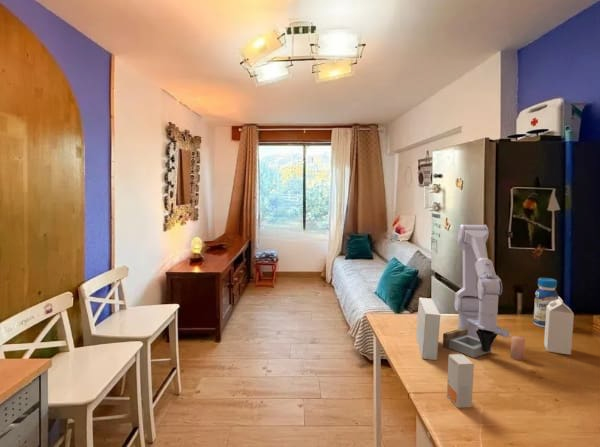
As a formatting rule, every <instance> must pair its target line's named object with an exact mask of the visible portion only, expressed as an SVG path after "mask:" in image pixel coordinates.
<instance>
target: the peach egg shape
mask: <svg viewBox="0 0 600 447" xmlns="http://www.w3.org/2000/svg"><path fill="white" fill-rule="evenodd" d="M525 343H526V339H525V338H524V337H522V336H519V335H512V336H511V342H510V354H509V356H510V358H511V359H513V360H514V361H515V360H516V361H524V360H525V346H526V344H525Z"/></svg>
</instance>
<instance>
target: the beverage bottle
mask: <svg viewBox="0 0 600 447" xmlns="http://www.w3.org/2000/svg"><path fill="white" fill-rule="evenodd" d="M537 286H538V288H537V289H536V291H535V293H534V295H535V297H534V308H533V309H534V310H533V324H535V325H536V326H538V327H541V328H545V323H546V308H547V305H548V304H549V303H550V302H551V301H555V300H557V299H558V296H559V294H558V292H557V290H556V288H557V286H558V281H557V279H554V278H549V277H539V278H538V279H537Z"/></svg>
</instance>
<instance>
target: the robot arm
mask: <svg viewBox="0 0 600 447" xmlns="http://www.w3.org/2000/svg"><path fill="white" fill-rule="evenodd" d="M489 232H490V231H489V227H488V226H487V224H463V223H462V224H460V225H459V226H458V228H457V245H458V246H460V247H461V249H462V287H461V288H460V289H459V290H458V291H456V292H455V293H454V294H455V296H454V302H453V305H454V310H455V311H456V312H457V313H458V317H457V318H458V321H457V322H458V323H457V330H458V329H461V328H466V329H468V332H467V335H470V336H472V337H475V338H478V339H480V342H481V346H482V351H484V352H489V351H490V348H491V349H492V345H493V343H494V341H495V339H496V338H497V336H500V337H503V338H504V339H507V338H510V335H511V334H510V333H511V332H510V330H507V329H504V328H502V327H500V326H499V325H498V313H499V310H498V309H499V307H498V306H499V296H501V295H502V294H503V282H502V280H501V278H500V277H499V275H497V274H496V271H495V267H494V263H493V261H492V260H491V259H489V258H488V251H487V245H486V244H487V241H488V238H489V235H490V233H489ZM477 279H478V280H477ZM489 353H490V352H489Z"/></svg>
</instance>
